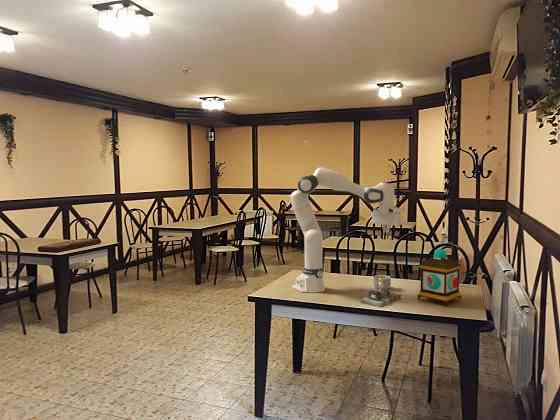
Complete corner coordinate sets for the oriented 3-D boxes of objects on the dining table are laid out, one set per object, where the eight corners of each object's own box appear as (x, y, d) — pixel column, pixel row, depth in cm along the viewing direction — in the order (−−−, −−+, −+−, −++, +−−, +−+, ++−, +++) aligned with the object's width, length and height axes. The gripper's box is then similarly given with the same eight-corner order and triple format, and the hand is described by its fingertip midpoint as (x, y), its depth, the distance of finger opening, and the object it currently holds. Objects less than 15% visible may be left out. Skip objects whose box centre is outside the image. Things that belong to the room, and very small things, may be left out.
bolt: (379, 294, 246) (380, 276, 245) (384, 295, 244) (385, 277, 243) (370, 297, 239) (370, 279, 238) (375, 298, 237) (375, 280, 236)
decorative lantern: (464, 301, 241) (466, 248, 239) (447, 308, 228) (448, 252, 226) (431, 294, 256) (432, 244, 254) (413, 300, 243) (414, 248, 241)
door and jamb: (382, 294, 257) (382, 283, 257) (401, 298, 249) (401, 287, 248) (360, 302, 240) (360, 291, 239) (379, 307, 231) (379, 295, 231)
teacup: (391, 291, 262) (391, 279, 262) (373, 291, 264) (373, 278, 264) (389, 286, 276) (390, 274, 275) (372, 285, 278) (372, 273, 278)
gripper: (369, 208, 263) (369, 230, 264) (396, 210, 247) (396, 234, 248) (376, 208, 267) (376, 230, 268) (403, 209, 250) (403, 233, 251)
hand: (386, 232), depth 258 cm, fingers closed
